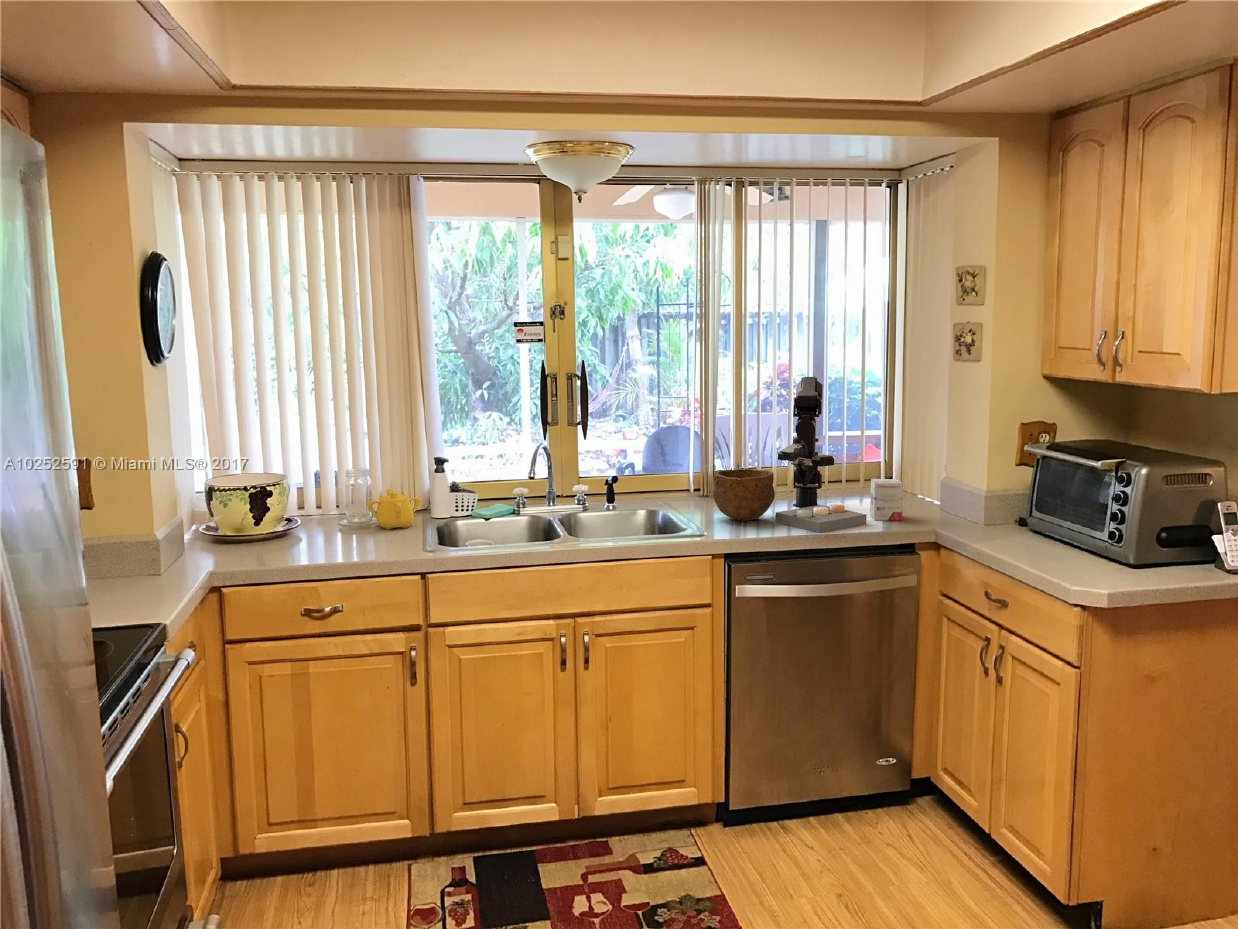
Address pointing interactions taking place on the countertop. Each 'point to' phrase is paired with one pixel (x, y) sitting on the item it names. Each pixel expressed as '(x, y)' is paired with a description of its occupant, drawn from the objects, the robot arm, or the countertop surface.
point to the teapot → (394, 510)
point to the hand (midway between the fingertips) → (804, 486)
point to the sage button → (804, 514)
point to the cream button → (820, 511)
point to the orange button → (837, 508)
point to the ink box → (886, 499)
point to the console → (821, 519)
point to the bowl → (743, 492)
